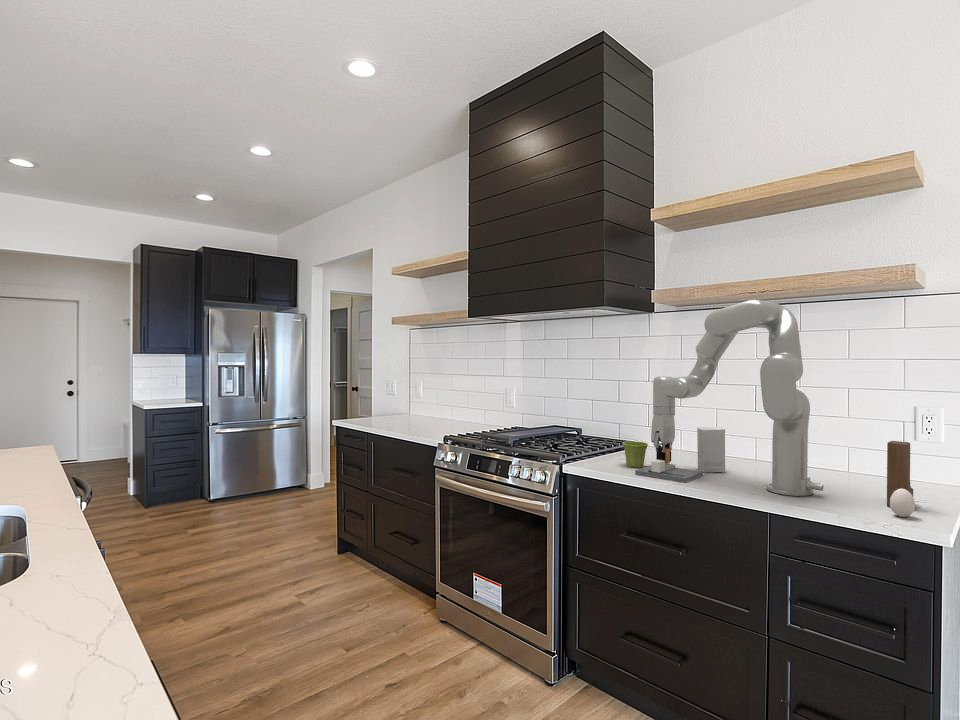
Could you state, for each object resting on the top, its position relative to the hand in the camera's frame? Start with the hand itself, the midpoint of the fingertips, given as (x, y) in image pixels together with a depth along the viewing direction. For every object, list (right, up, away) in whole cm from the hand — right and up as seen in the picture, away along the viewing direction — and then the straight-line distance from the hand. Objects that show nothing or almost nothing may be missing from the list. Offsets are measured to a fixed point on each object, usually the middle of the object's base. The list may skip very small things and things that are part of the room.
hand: (663, 461), depth 202 cm
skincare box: (+17, -4, +1) cm, 18 cm away
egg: (+44, -5, -55) cm, 71 cm away
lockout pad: (0, -2, 0) cm, 2 cm away
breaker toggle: (-5, -2, -8) cm, 9 cm away
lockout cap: (0, 0, 0) cm, 0 cm away
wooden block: (+52, -4, -44) cm, 68 cm away
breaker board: (0, -4, -6) cm, 7 cm away
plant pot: (-8, -4, +9) cm, 13 cm away
